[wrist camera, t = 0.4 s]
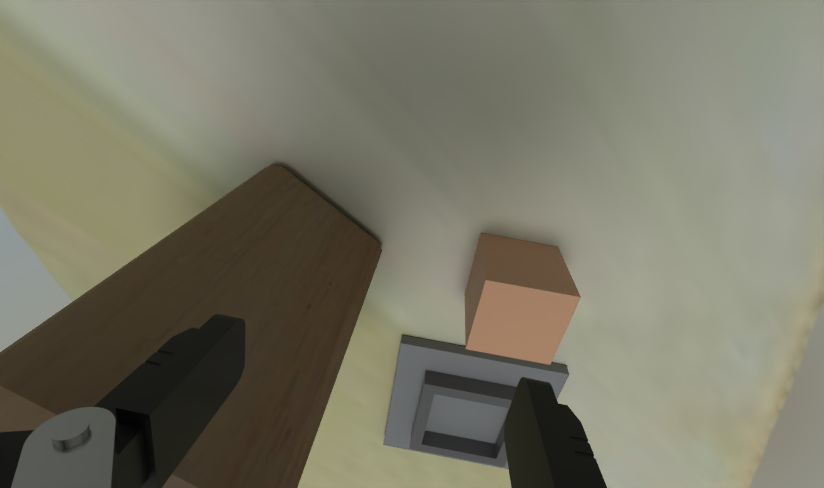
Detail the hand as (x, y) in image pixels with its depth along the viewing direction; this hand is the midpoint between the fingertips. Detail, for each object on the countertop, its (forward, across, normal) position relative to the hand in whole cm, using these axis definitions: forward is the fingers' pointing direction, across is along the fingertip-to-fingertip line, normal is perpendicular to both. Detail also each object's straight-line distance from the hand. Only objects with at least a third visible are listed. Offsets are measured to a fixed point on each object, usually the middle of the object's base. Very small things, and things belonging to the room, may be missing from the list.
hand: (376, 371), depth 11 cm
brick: (+18, -7, +4) cm, 19 cm away
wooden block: (+18, +9, +5) cm, 20 cm away
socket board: (+20, -8, +19) cm, 28 cm away
